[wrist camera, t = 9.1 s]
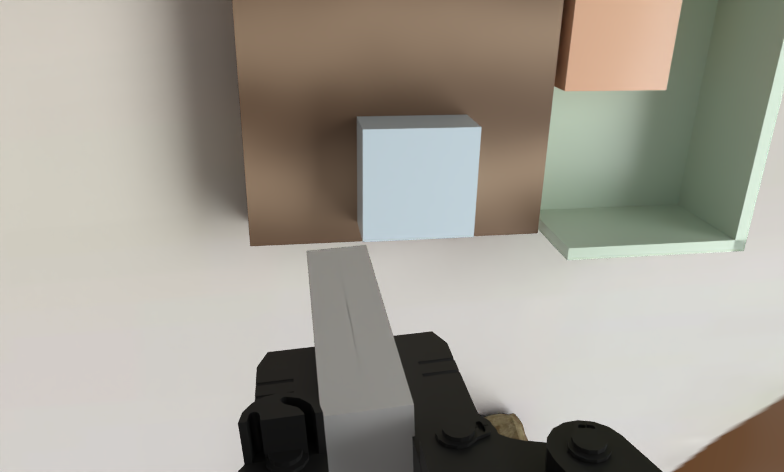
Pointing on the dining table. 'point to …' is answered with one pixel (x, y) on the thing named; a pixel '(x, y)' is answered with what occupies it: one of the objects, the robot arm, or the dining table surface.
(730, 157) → the tray
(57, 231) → the dining table surface
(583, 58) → the tile terracotta
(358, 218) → the pale blue square block
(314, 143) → the board
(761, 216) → the dining table surface
